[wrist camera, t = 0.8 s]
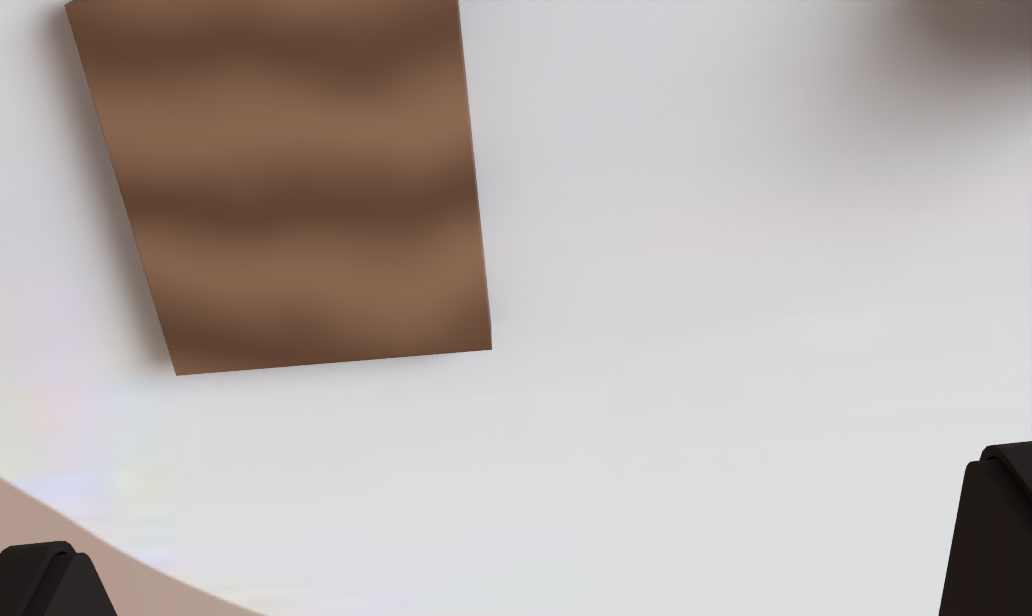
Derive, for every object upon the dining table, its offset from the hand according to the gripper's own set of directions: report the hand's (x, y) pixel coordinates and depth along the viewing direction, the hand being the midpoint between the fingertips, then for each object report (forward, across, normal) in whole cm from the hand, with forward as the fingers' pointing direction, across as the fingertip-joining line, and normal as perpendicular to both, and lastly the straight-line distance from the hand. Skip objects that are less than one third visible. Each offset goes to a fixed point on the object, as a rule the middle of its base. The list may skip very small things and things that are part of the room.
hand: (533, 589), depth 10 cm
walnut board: (+30, +9, +7) cm, 32 cm away
